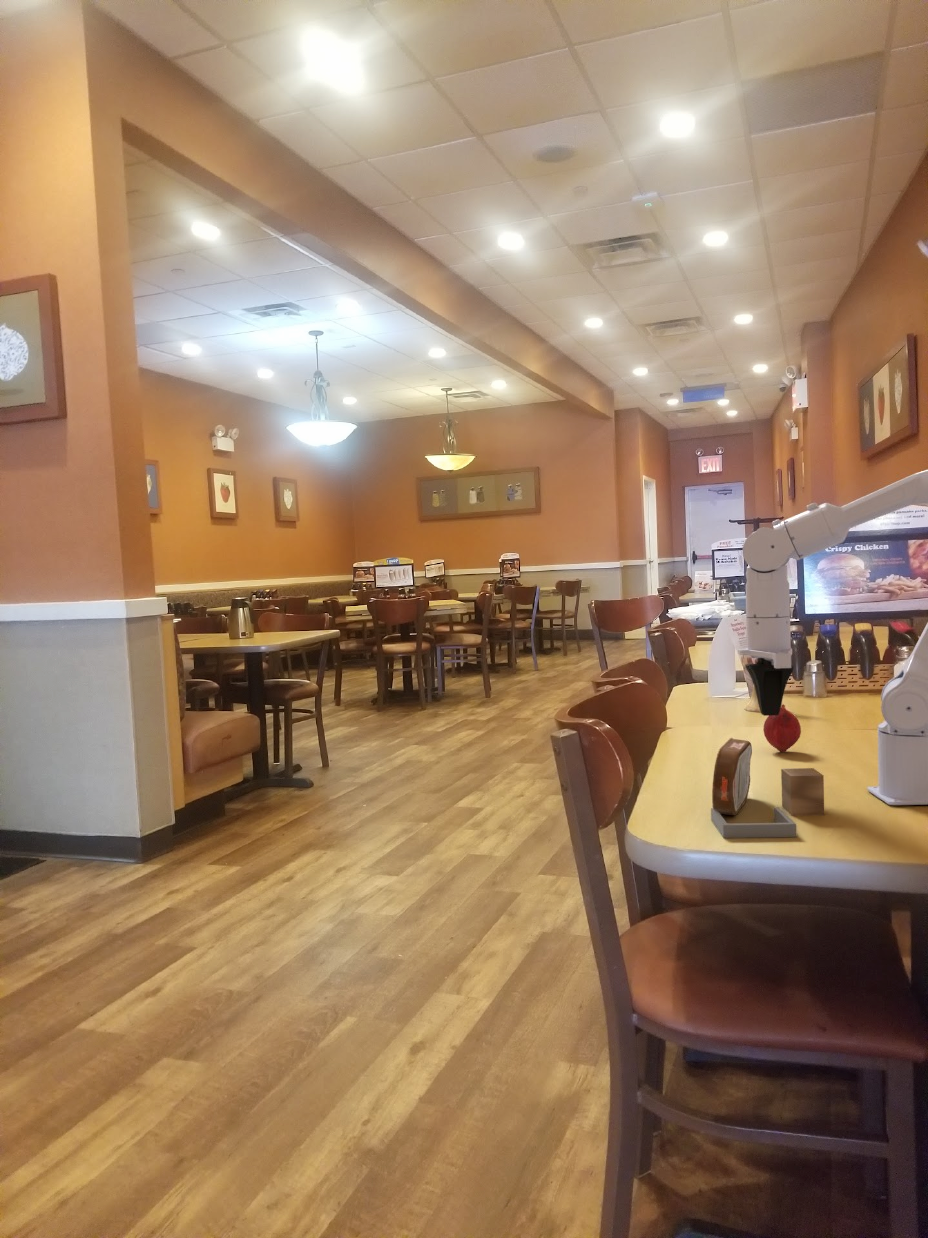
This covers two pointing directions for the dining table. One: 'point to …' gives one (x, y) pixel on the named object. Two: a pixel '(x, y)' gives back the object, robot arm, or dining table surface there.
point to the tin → (731, 776)
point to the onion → (782, 729)
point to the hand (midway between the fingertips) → (770, 714)
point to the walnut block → (802, 791)
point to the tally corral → (755, 826)
